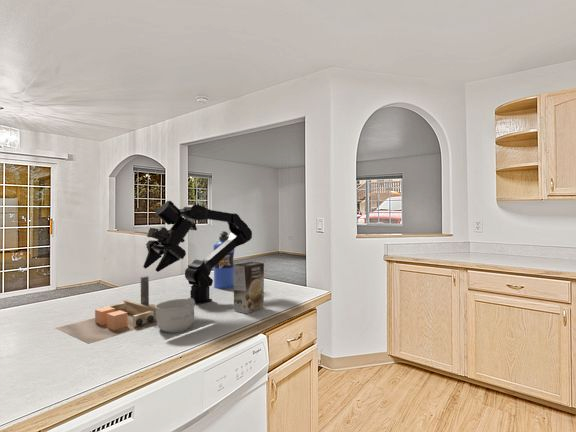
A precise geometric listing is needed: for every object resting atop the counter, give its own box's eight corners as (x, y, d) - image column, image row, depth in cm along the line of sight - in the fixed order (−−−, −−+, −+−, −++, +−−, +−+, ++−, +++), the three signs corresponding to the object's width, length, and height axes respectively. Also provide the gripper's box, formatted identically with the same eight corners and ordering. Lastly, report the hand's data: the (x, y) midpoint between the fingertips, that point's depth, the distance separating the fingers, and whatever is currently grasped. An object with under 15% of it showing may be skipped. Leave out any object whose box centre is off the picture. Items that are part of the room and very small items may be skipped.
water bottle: (214, 284, 159) (214, 230, 159) (235, 284, 160) (234, 230, 160) (212, 289, 150) (212, 232, 150) (234, 288, 151) (233, 232, 151)
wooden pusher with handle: (133, 308, 117) (132, 273, 117) (164, 318, 107) (164, 279, 107) (104, 315, 110) (104, 278, 109) (135, 326, 99) (135, 285, 99)
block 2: (120, 323, 103) (120, 310, 103) (127, 326, 101) (127, 312, 101) (106, 327, 100) (106, 313, 100) (114, 329, 98) (113, 316, 97)
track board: (151, 305, 124) (151, 303, 124) (187, 315, 113) (187, 313, 113) (55, 330, 99) (55, 328, 99) (88, 346, 88) (88, 343, 88)
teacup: (172, 339, 92) (172, 310, 92) (147, 332, 98) (146, 304, 97) (209, 324, 104) (209, 298, 104) (185, 318, 109) (185, 294, 109)
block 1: (108, 319, 107) (108, 306, 107) (115, 321, 105) (115, 308, 105) (95, 322, 104) (95, 309, 104) (101, 325, 102) (101, 311, 102)
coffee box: (247, 314, 114) (246, 266, 114) (233, 310, 118) (233, 264, 118) (264, 307, 122) (264, 262, 121) (250, 304, 125) (250, 261, 125)
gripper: (149, 218, 125) (120, 253, 118) (174, 219, 112) (144, 258, 105) (170, 236, 131) (145, 271, 124) (197, 239, 118) (170, 278, 111)
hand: (150, 269), depth 116 cm, fingers open, 9 cm apart
